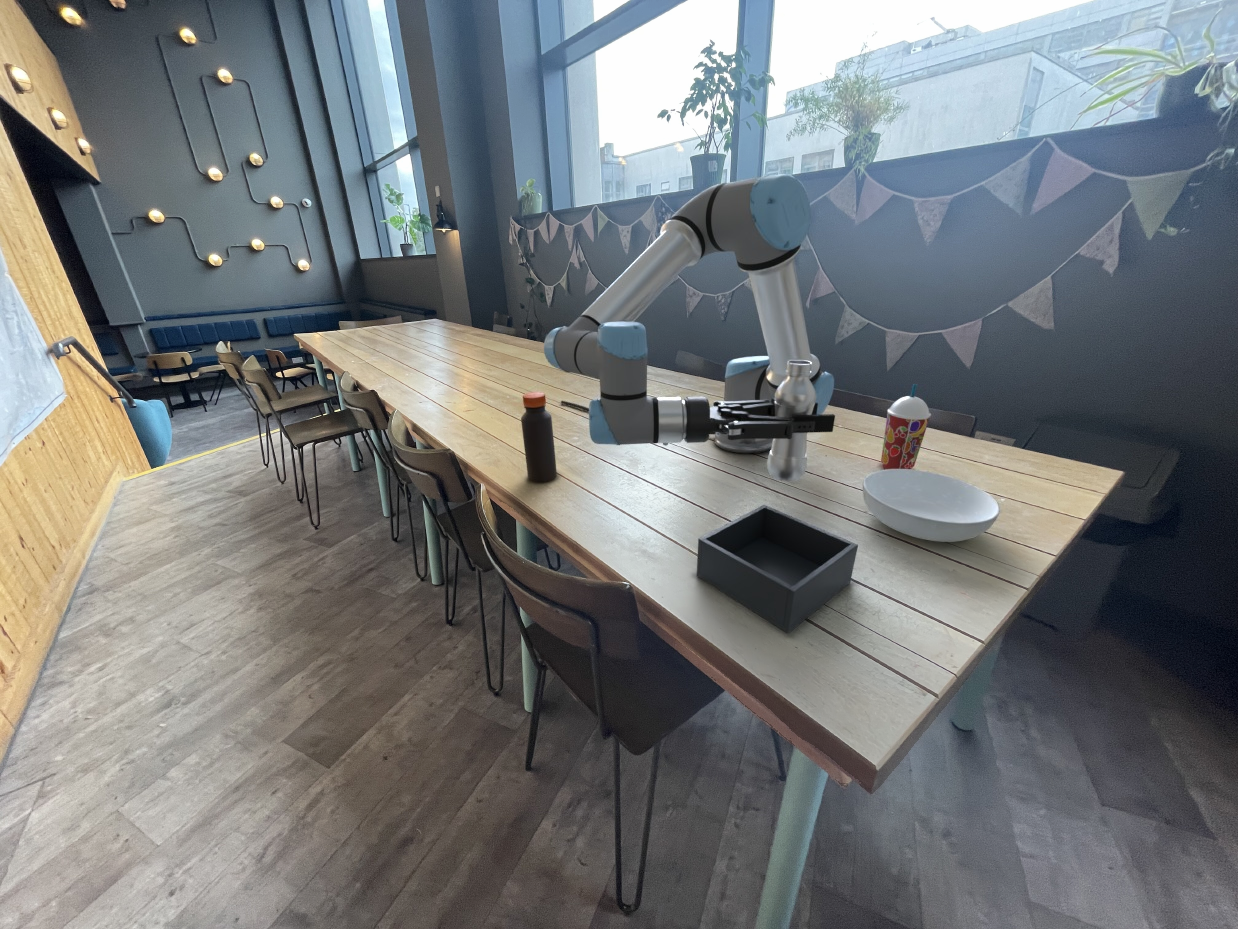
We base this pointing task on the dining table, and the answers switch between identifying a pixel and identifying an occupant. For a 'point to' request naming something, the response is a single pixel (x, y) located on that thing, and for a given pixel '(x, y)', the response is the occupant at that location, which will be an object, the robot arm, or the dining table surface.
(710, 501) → the dining table surface
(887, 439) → the smoothie
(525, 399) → the vinegar
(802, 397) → the silver metal bottle
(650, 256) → the robot arm
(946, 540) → the serving bowl
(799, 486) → the dining table surface
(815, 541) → the bin
